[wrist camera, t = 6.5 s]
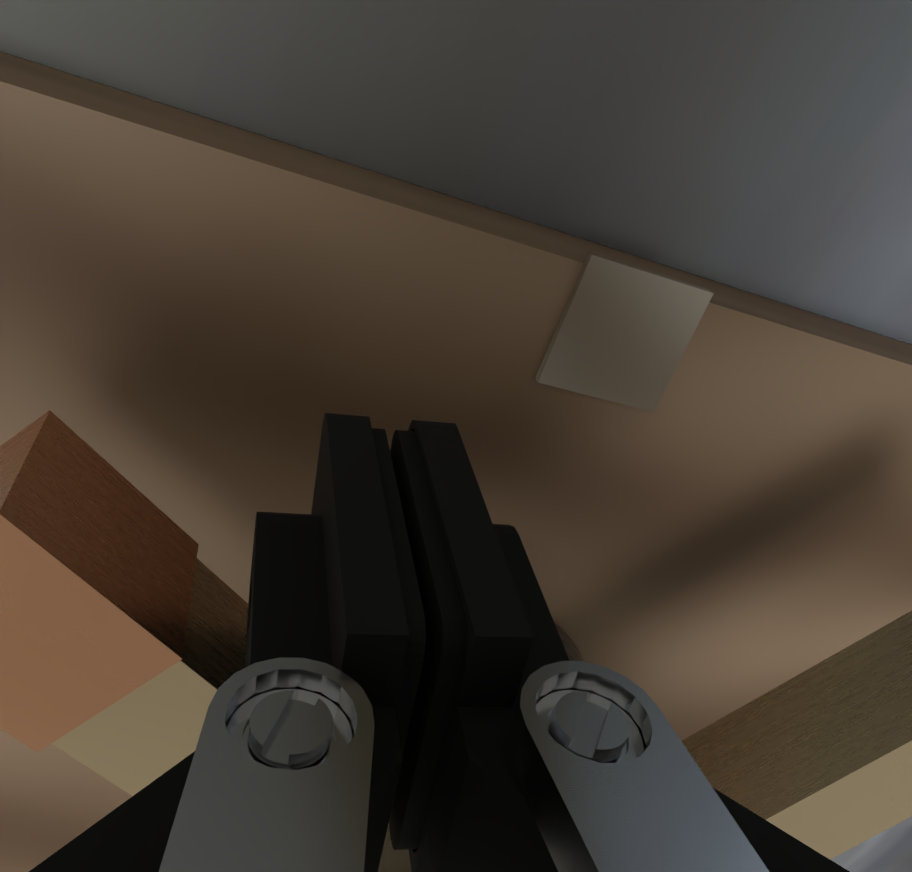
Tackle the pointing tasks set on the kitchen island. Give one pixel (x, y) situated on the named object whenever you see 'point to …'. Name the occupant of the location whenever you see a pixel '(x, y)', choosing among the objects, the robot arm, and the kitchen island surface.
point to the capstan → (224, 645)
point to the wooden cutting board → (441, 397)
